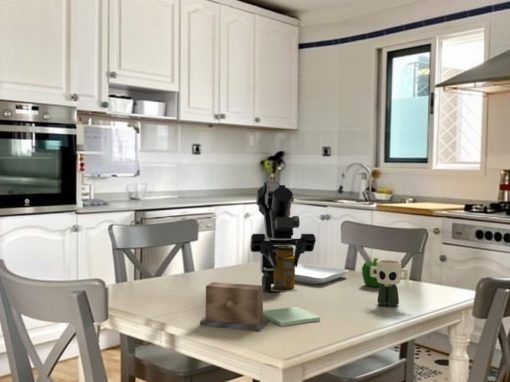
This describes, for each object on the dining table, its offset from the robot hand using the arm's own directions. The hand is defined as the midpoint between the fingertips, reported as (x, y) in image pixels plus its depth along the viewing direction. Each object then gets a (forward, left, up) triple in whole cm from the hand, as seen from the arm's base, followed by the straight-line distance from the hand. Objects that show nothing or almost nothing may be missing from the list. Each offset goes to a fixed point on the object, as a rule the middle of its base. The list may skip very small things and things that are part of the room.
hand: (285, 266), depth 162 cm
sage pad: (+3, +7, -13) cm, 15 cm away
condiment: (0, -1, -7) cm, 7 cm away
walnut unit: (+19, +6, -13) cm, 23 cm away
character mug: (-31, +7, -13) cm, 35 cm away
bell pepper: (-44, -16, -13) cm, 49 cm away
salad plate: (-31, -36, -13) cm, 49 cm away
